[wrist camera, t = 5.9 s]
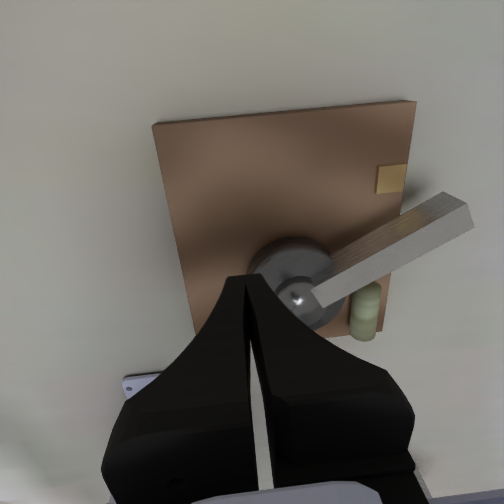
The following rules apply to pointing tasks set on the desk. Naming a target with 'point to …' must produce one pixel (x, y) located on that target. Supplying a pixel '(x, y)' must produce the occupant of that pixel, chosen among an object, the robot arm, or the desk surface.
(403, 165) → the base
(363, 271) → the grey lever handle
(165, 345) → the desk surface
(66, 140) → the desk surface
